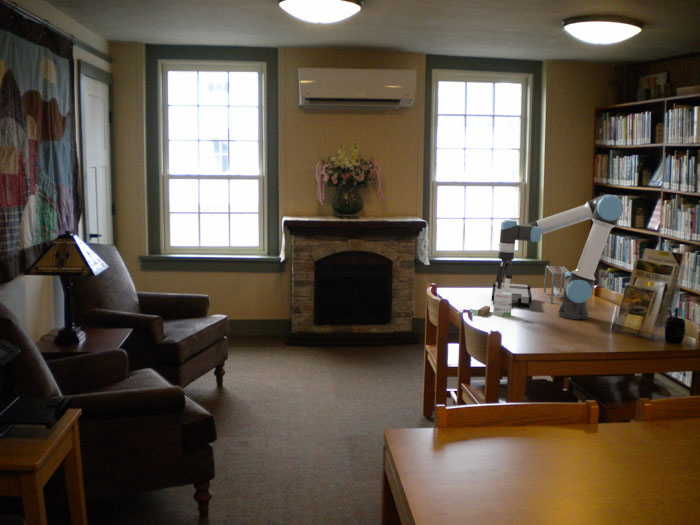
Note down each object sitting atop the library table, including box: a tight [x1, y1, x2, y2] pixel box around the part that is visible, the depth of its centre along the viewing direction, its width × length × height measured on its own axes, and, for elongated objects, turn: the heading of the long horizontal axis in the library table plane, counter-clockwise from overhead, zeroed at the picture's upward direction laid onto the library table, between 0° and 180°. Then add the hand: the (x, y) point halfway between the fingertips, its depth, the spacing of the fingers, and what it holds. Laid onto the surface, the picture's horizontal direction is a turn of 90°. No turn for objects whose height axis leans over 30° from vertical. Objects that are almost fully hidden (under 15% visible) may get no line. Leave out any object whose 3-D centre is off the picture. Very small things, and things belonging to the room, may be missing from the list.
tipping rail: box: [477, 305, 491, 317], centre depth 360 cm, size 2×12×3 cm, turn 152°
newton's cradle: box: [543, 265, 570, 304], centre depth 408 cm, size 30×10×18 cm, turn 172°
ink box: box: [492, 292, 513, 318], centre depth 358 cm, size 9×5×12 cm, turn 71°
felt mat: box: [455, 308, 493, 318], centre depth 362 cm, size 16×14×1 cm
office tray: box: [491, 282, 533, 309], centre depth 394 cm, size 21×32×8 cm, turn 168°
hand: (502, 293), depth 357 cm, fingers open, 13 cm apart
